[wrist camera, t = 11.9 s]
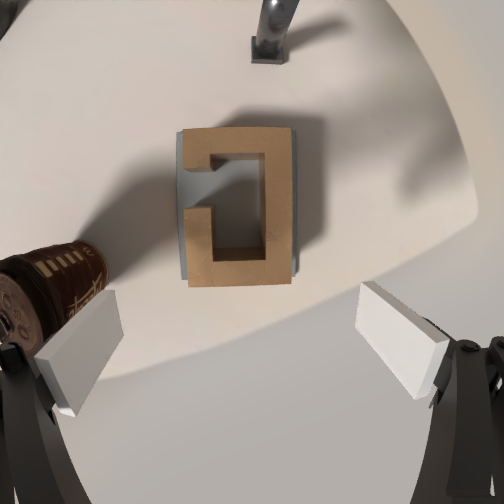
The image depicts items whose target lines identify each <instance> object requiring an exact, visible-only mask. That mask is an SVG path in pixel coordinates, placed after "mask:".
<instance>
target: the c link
mask: <svg viewBox="0 0 504 504" xmlns="http://www.w3.org/2000/svg"><path fill="white" fill-rule="evenodd" d="M234 160H258V161H259V237H260V247H231V248H217V246H216V220H215V205H196V206H191V207H188V208H186V209H184V227H185V245H186V259H187V272H188V284H189V287H224V286H254V285H278V284H291V277H292V139H291V128H286V127H216V128H197V129H183V139H182V162H183V169H184V170H187V171H189V172H191V173H202V172H214V161H234Z"/></svg>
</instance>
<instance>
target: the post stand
mask: <svg viewBox="0 0 504 504" xmlns="http://www.w3.org/2000/svg"><path fill="white" fill-rule="evenodd" d="M298 3H299V0H263V4H262V9H261V14H260V19H259V25H258V30H257V36H252V38H251V63H260V64H279V65H282V62H283V48H282V44H283V41H284V38H285V36H286V33H287V31H288V28H289V25H290V23H291V20H292V18H293V15H294V13H295V10H296V8H297V5H298Z"/></svg>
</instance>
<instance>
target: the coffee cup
mask: <svg viewBox="0 0 504 504" xmlns="http://www.w3.org/2000/svg"><path fill="white" fill-rule="evenodd" d="M108 276H109V272H108V267H107V264H106V261H105V260H104V258H103V257H102V255H101V254H100V252H99V251H98V250H97V249H96V248H95V247H94V246H93V245H91V244H89V243H87V242H84V241H76V242H73V243H66V244H60V245H52V246H49V247H44V248H40V249H36V250H33V251H31V252H28V253H25V254H19V255H13V256H10V257H8V258H5V259H3V260H0V342H1V343H4V342H7V341H12V340H14V341H19V342H20V343H21V345H22V348H23V350H24V353H25V355H26V357H27V359H28V358H29V357H30V356H31V355H32V354H33V353H34V352H35V351H36V350H37V349H38V348H39V347H41V345H42V344H43V343H44V342H46V340H47V339H48V338H49V337H50V336H51V335H52V334H54V333H56V332H57V331H59V330H60V329H61V328H62V327H63V326H64V325H65V324H66V323H67V322H69V321H70V320H71V319H72V318H73V317H74V316H75V315H76V314H77V313H78V312H79V311H80V310H81V309H82V308H83V307H84V306H85V305H86V304H87V303H88V302H90V301H91V300H92V299H93V298H94V297H95V296H96V295H97V294H98V293H99V292H100V291H102V290H103V289H104V287H105V285H106V283H107V280H108Z"/></svg>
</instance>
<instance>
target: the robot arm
mask: <svg viewBox="0 0 504 504" xmlns="http://www.w3.org/2000/svg"><path fill="white" fill-rule="evenodd" d="M16 7H17V5H16V3H15V2H14V1H13V0H0V39H1V37H2V36H3V34H4V33H5V31H6V29H7V28H8V26H9V24H10V22H11V20H12V19H13V16H14V14H15V11H16ZM355 327H356V329H357V330H358V331H359V332H360V333H361V334H362V336H363V337H364V338H365V339H366V341H367V342H368V343H369V344H370V345H371V346H372V348H373V349H374V350H375V351H376V353H377V354H378V355H379V356H380V357H381V358H382V360H383V361H384V362H385V363H386V365H387V366H388V367H389V368H390V370H391V371H392V372H393V373H394V374H395V376H396V377H397V378H398V380H399V381H400V382H401V383H402V384H403V386H404V387H405V388H406V389H407V391H408V392H409V393H410V394H411V396H412V397H413V398H414V400H416V399H418V398H421V397H424V396H426V395H428V394H429V392H430V390H431V388H432V385H433V383H434V384H435V386H436V387H438V389H437V391H436V393H435V395H434V397H433V399H432V401H431V403H430V406H429V408H431V406H432V405H433V404H434V406H433V413H432V419H431V425H430V431H429V436H428V441H427V446H426V450H425V455H424V459H423V463H422V467H421V470H420V474H419V477H418V480H417V484H416V487H415V490H414V493H413V496H412V499H411V502H410V504H504V337H503V336H501V337H499V336H497V337H494V338H492V340H491V343H490V346H489V348H481V347H480V346H479V345H478V344H477V343H475V342H473V341H470V340H459V341H456V340H454V339H453V338H452V337H450V336H449V335H448V334H447V333H445V332H444V331H443V330H440V328H439V327H438V326H435V324H433V323H432V322H431V321H430V320H428V319H426V318H424V317H421V316H420V315H418V314H417V313H416V312H414V311H413V310H412V309H410V308H409V307H408V306H406V305H405V304H404V303H402V302H401V301H400V300H398V299H397V298H396V297H394V296H393V295H392V294H390V293H389V292H387V291H386V290H385V289H383V288H382V287H381V286H379V285H378V284H376V283H375V282H374V281H368V282H361V287H360V295H359V303H358V310H357V316H356V323H355ZM123 336H124V334H123V330H122V326H121V321H120V317H119V312H118V307H117V302H116V297H115V291H114V290H102V291H100V292H99V293H98V294H97V295H96V296H95V297H94V298H93V299H92V300H91V301H90V302H88V303H87V304H86V305H85V306H84V307H83V308H82V309H81V310H80V311H79V312H78V313H77V314H76V315H75V316H74V317H73V318H72V319H71V320H70V321H69V322H67V323H66V324H65V325H64V326H63V327H62V328H61V329H60V330H59V331H57V332H56V333H54V334H52V335H51V336H50V337H49V338H48V339H47V340H46V342H44V343H43V344H42V345H41V347H39V348H38V349H37V350H36V351H35V352H34V353H33V354H32V355H31V356H30V357H29V358H28V359H27V357H26V355H25V353H24V350H23V348H22V345H21V343H20V342H19V341H14V340H12V341H7V342H4V343H2V344H1V345H0V366H1V369H2V370H0V504H15V497H14V487H15V491H16V495H17V498H18V502H19V504H92V503H91V502H90V500H89V498H88V496H87V494H86V492H85V490H84V488H83V486H82V484H81V482H80V480H79V478H78V476H77V473H76V471H75V469H74V466H73V464H72V462H71V459H70V457H69V454H68V452H67V449H66V446H65V444H64V441H63V438H62V435H61V432H60V429H59V426H58V423H57V419H56V416H55V414H54V412H53V410H52V407H53V405H54V404H55V403H56V405H57V406H58V408H59V410H60V412H61V413H63V414H66V415H70V416H73V417H76V416H77V414H78V413H79V411H80V409H81V407H82V405H83V403H84V402H85V400H86V398H87V396H88V394H89V393H90V391H91V389H92V387H93V386H94V384H95V382H96V380H97V379H98V377H99V375H100V374H101V372H102V370H103V369H104V367H105V365H106V364H107V362H108V360H109V359H110V357H111V355H112V354H113V352H114V350H115V349H116V347H117V346H118V344H119V342H120V341H121V339H122V338H123ZM500 378H502V385H501V387H500V389H498V388H497V384H498V382H499V380H500ZM491 477H493V484H494V492H495V496H492V495H491V494H490V488H491Z"/></svg>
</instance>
